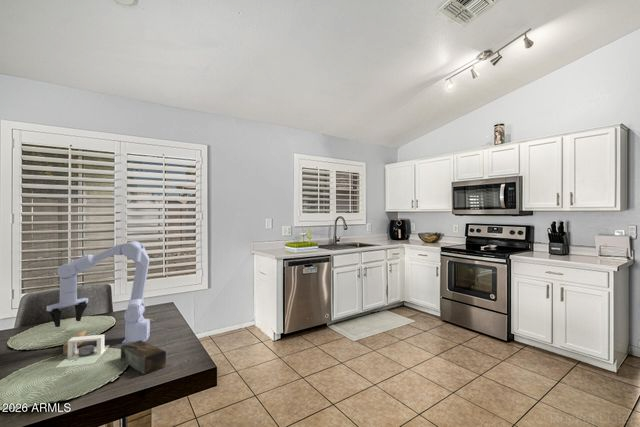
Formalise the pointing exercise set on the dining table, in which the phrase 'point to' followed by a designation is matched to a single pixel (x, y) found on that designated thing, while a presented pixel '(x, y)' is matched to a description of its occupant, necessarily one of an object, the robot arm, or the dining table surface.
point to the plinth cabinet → (73, 341)
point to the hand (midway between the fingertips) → (68, 323)
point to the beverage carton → (143, 356)
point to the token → (86, 350)
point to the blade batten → (79, 334)
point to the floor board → (82, 358)
